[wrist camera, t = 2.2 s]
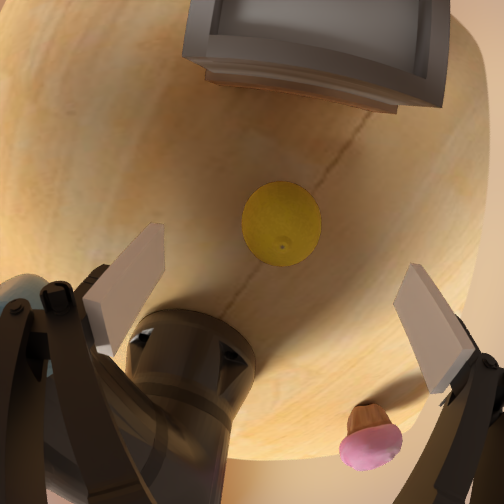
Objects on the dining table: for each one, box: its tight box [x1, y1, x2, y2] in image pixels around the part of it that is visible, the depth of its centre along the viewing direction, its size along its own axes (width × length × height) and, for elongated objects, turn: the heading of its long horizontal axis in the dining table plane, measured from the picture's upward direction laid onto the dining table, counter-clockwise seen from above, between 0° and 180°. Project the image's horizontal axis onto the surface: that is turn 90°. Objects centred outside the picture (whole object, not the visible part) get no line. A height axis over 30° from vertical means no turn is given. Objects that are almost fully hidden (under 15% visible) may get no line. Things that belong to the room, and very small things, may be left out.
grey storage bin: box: [182, 0, 450, 114], centre depth 12 cm, size 12×12×12 cm
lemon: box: [242, 181, 321, 267], centre depth 21 cm, size 6×6×8 cm
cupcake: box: [339, 404, 402, 471], centre depth 33 cm, size 9×9×10 cm
